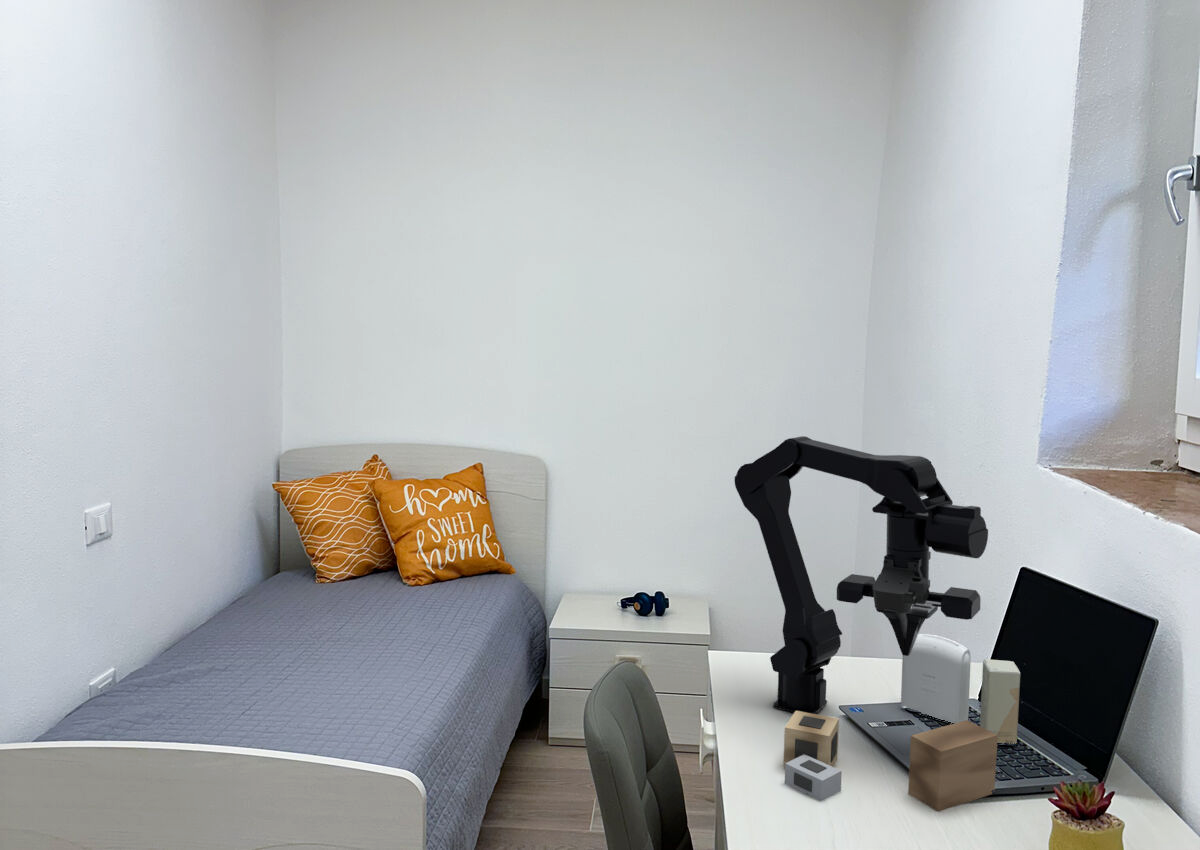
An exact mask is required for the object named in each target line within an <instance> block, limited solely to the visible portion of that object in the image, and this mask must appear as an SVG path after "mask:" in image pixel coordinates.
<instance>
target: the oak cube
mask: <svg viewBox="0 0 1200 850" xmlns="http://www.w3.org/2000/svg"><path fill="white" fill-rule="evenodd" d="M839 724H840V718H838V717H833V716H827V715H821V714H817V713H815V714H812V713H806V712H801V711H795V713H793V714H792V715H791V717H790V719H789V720H788V722H787V723H786V725H785V726H784V736H783V737H784V742H783V743H784V744H783V768H782V769H783V770H785V763H787V762H789V761H791V760H793V759H795V758H797V757H800V756H802V755H804V754H805V755H807V756H809V757H812V758H814V759H816V760H818V761H821V762H823V763H825V764H827V765H830V766H832V767H834V768H835V766H836V763H837V762H838V754H839V753H838V752H839V751H838V750H839V732H840V731H839V729H840V728H839V727H840V725H839Z"/></svg>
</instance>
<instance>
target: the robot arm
mask: <svg viewBox="0 0 1200 850" xmlns="http://www.w3.org/2000/svg"><path fill="white" fill-rule="evenodd" d="M803 468H808V469H811V470H814V471H818V472H822V473H827V474H831V475H834V476H838V477H840V478H845V479H848V480H852V481H855V482H860V483H861V484H864V485H865V486H867V487H868V488H870V490H872V491H873V492H874V493H876V494H878V495H879V496H883V497H882V499H881V500H880V501H879V502H878V503H877V504H876V505H875V506H873V507H872V510H871V511H872V512H873V513H877V514H883V515H886V549H885V550H886V553H885V555H884V556H883V564H882V569H881V570H880V573H879V575H877V578H876V579H875V577H874V576H869V575H860V574H855V573H853V574H852V573H851V574H850V575H848V576H846V577H845V578H844V579H842V580H841V581H839V582H838V583H837V586H836V600H837V601H838V602H843V603H844V602H845V603H850V604H851V603H852V604H858V602H860V601H861V600H863V599H864V597H867V598H873V602H874V608H875V610H876V612H878V613H880V614H881V613H882V614H883V615H884V616H885V617H886V618H887V619H888V621H889V623H890V625H891V628H892V630H893V632H894V635H895V638H896V642H897V644H898V646H899V650H900V652H901V655H902V656H903V655H906V656H909V655H910V653H911V650H912V648H913V645H914V643H915V641H916V638H917V636H918V634H920V631H921V629H922V626H923V624H924V623H925V621H926V620H927V619H929V618H931V617H932V616H933V615H934V614H935V613H936V612H937V611H938V610H939V608H940V612H941V613H942V614H943V615H944V616H945V617H946V618H952V619H958V620H973V618H974V617H975V616H976V615H977V614H978V613H979V612H980V611H981V601H982V600H981V595H980V594H979V592H978V591H977V590H975V589H970V588H969V589H968V588H961V587H954V586H950V587H949V588H948V589H947V590H946V591H945V592H944V593H943V592H935V591H930V588H931V579H930V578H929V575H930V573H929V572H930V571H929V570H930V560H931V555H932V554H931V551H930V548H931V549H932V550H933V552H935V553H941V554H947V555H952V556H957V557H958V556H959V557H965V558H971V559H980V557H982V556H983V554H985V553H984V552H985V551H986V549H987V545H988V538H989V529H988V528H987V523H986V521H985V518H984V517H983V516H982V514H981V513H982V510H981V507H980V506H976V505H968V506H967V505H966V506H963V505H957V504H956V505H955V504H953V503H954V502H953V500H952V499H951V496H950V495H949V494H948V492H947V490H946V489H945V487H944V486H943V485H942V483H941V481H940V480H939V479H938V477H937V473H936V469H935V467H934V466H933V464H932V461H931V460H929V459H928V458H927V457H924V456H921V455H906V454H905V455H904V454H903V455H902V454H901V455H900V454H896V455H895V454H893V455H892V454H890V455H886V454H885V455H884V454H879V455H878V454H873V453H867V452H866V451H865V452H864V451H861V450H855V449H852V448H848V447H844V446H840V445H836V444H831V443H827V442H822V441H820V440H815V439H812V438H810V437H808V436H805V435H804V436H803V435H802V436H801V435H800V436H796V437H791V438H788V439H787V438H786V439H784V440H783V441H782V442H781V443H780V444H779V445H777V446H776V447H775V448H773V449H772V450H770V451H769V452H767V453H765V454H763V455H761V456H760V457H759V458H756V460H754V461H752V462H750V463H744V464H743V465H741V466H740V467H739V468H738V470H737V472H736V475H735V476H734V487H735V489H736V491H737V494H738V496H739V498H740V501H741V503H742V504H743V506H744V508H745V509H746V510H747V511H749V513H750V514H751V515H752V516H753V517H754V519H756V520H757V522H758V525H759V529H760V532H761V536H762V538H763V542H764V544H765V548H766V553H767V555H768V558H769V561H770V564H771V567H772V570H773V574H774V578H775V581H776V583H777V584H776V585H777V586H778V590H779V593H780V597H781V599H782V603H783V606H784V612H785V613H784V619H783V625H782V637H783V642H784V646H783V647H781V648H780V649H779V650H777V652H775V653H774V654H772V655H771V656H770V658H769V660H770V663H771V668H772V671H773V672H775V673H778V674H777V700H776V701H774V702H773V703H772V707H773V708H774V709H778V710H782V711H786V712H790V713H793V714H794V713H795V711H801V712H806V713H812V714H817V713H818V712H819V711H820V710H821V709H823V707H825V706H826V705H827V703H828V701H827V680H826V679H825V678H824V673H825V672H824V671H825V670H824V669H825V668H823V667H825V666H828V665H829V664H830V663H831V660H832V658H833V657H834V656H836V654H837V653H838V651H839V649H840V648H841V643H842V642H841V636H842V635H843V632H842V630H841V628H840V627H839V625H838V621H837V617H836V613H835V610H834V609H832V608H830V609H827V610H825V608H823V607H822V605H821V604H820V603H818V601H817V599H816V596H815V592H814V590H813V586H812V584H811V580H810V577H809V573H808V571H807V568H806V564H805V561H804V558H803V555H802V551H801V548H800V545H799V541H798V538H797V536H796V533H795V532H796V531H795V529H794V526H793V523H792V519H791V516H790V514H789V511H790V510H789V509H790V504H791V497H792V489H791V482H790V480H792V479H793V478H794V477H796V475H798V474H799V473H800V472H801V471H802V469H803ZM925 496H926V497H925ZM921 497H922V498H921ZM923 497H925V498H923Z"/></svg>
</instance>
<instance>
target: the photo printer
mask: <svg viewBox="0 0 1200 850" xmlns="http://www.w3.org/2000/svg"><path fill="white" fill-rule="evenodd" d="M971 658H972V657H971V651H970V649H969V648H967V647H966V646H964V645H962V644H960V643H959V642H957V641H954V640H952V639H949V638H948V637H947V638H946V637H944V636H940V635H935V634H931V633H930V634H928V633H918V636H917V638H916V641H915V643H914V645H913V648H912V650H911V653H910V655H909V656H906V655H902V658H901V659H902V662H901V664H902V665H901V666H902V667H901V686H900V687H901V691H900V692H901V694H900V706H901V705H903V706H906V707H908V708H911V709H914V710H917V711H919V712H921V713H923V714H927V715H929V716H932V717H935V718H938V719H941V720H945V721H948V722H951V723H950V724H952V723H958V722H962V721H966V720H968V721H969V708H970V689H971V688H970V683H971ZM938 719H937V720H938ZM941 720H940V721H941ZM945 721H944V722H945ZM948 722H947V723H948Z"/></svg>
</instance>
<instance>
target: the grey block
mask: <svg viewBox="0 0 1200 850" xmlns="http://www.w3.org/2000/svg"><path fill="white" fill-rule="evenodd" d="M842 775H843V774H842V770H841V769H839V768H836V767H835V766H834V767H832V766H830V765H827V764H825V763H823V762H821V761H818V760H816V759H814V758H812V757H809V756H807V755H805V754H804V755H802V756H800V757H797V758H795V759H793V760H791V761H789V762H787V763H785V769H784V784H785V785H787V786H788V787H789V786H790V787H791V788H794V789H796V790H798V791H800V792H802V793H804V794H806V795H809V796H810V797H812V798H814V799H816V800H818V801H821V802H823V801H825V800H827V799H829V798H831V797H832V796H834V795H836V794H838V793H841V791H842Z"/></svg>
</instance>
